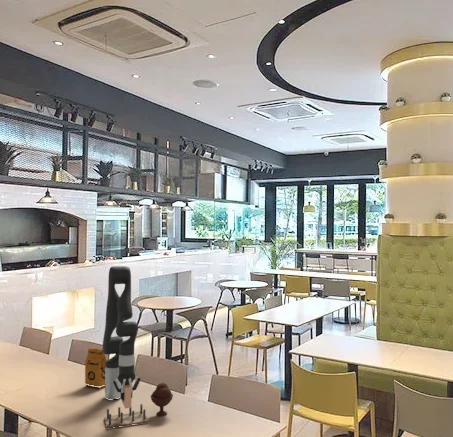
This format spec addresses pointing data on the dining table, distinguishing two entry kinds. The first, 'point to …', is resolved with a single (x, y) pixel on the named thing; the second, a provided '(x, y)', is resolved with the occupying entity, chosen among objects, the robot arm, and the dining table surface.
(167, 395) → the ice cream bowl
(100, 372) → the coffee package
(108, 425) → the dish rack
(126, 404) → the peach chamfered block
